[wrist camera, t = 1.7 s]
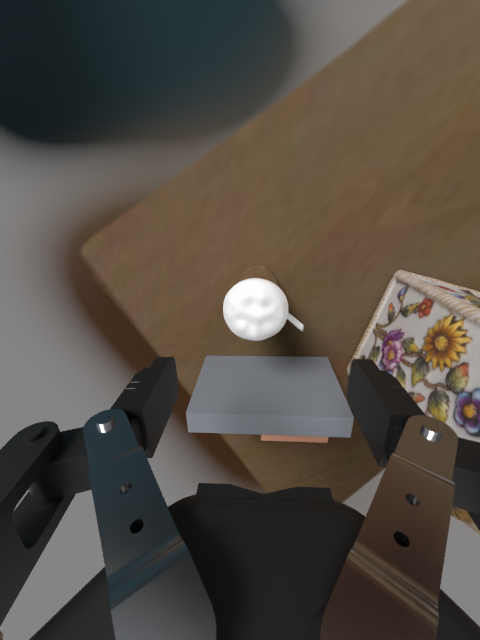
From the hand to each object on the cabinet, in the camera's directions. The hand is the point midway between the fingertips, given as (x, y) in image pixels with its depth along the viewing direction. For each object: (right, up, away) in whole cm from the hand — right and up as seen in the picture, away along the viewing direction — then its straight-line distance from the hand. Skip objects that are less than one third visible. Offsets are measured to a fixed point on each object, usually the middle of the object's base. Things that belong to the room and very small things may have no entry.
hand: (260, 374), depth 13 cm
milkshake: (+1, +6, +14) cm, 15 cm away
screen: (+2, -2, +17) cm, 18 cm away
